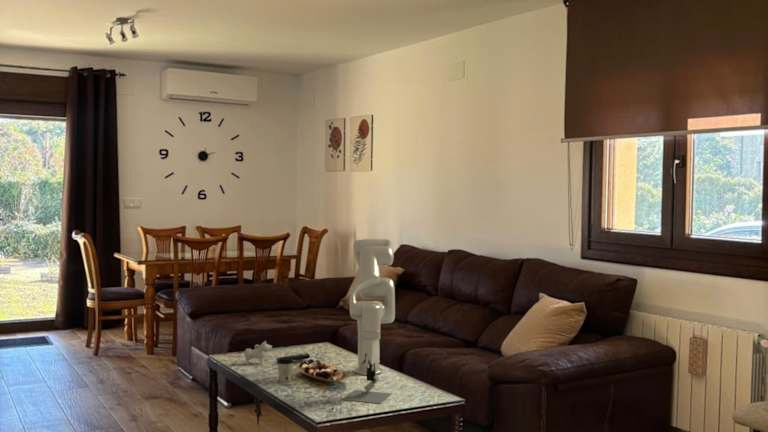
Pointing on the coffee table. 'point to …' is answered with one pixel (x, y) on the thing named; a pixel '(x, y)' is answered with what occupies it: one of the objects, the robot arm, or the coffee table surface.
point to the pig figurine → (257, 352)
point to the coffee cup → (285, 369)
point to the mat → (367, 396)
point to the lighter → (371, 384)
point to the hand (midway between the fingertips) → (371, 380)
